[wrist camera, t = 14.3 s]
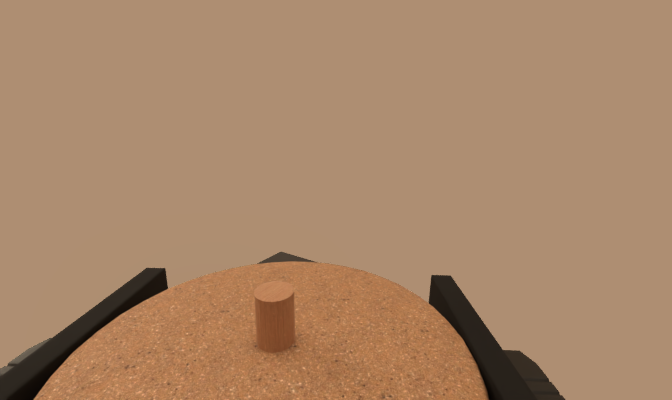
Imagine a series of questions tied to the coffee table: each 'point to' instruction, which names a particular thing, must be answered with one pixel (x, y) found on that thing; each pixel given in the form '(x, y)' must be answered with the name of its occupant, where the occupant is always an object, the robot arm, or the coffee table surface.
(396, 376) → the trinket box
